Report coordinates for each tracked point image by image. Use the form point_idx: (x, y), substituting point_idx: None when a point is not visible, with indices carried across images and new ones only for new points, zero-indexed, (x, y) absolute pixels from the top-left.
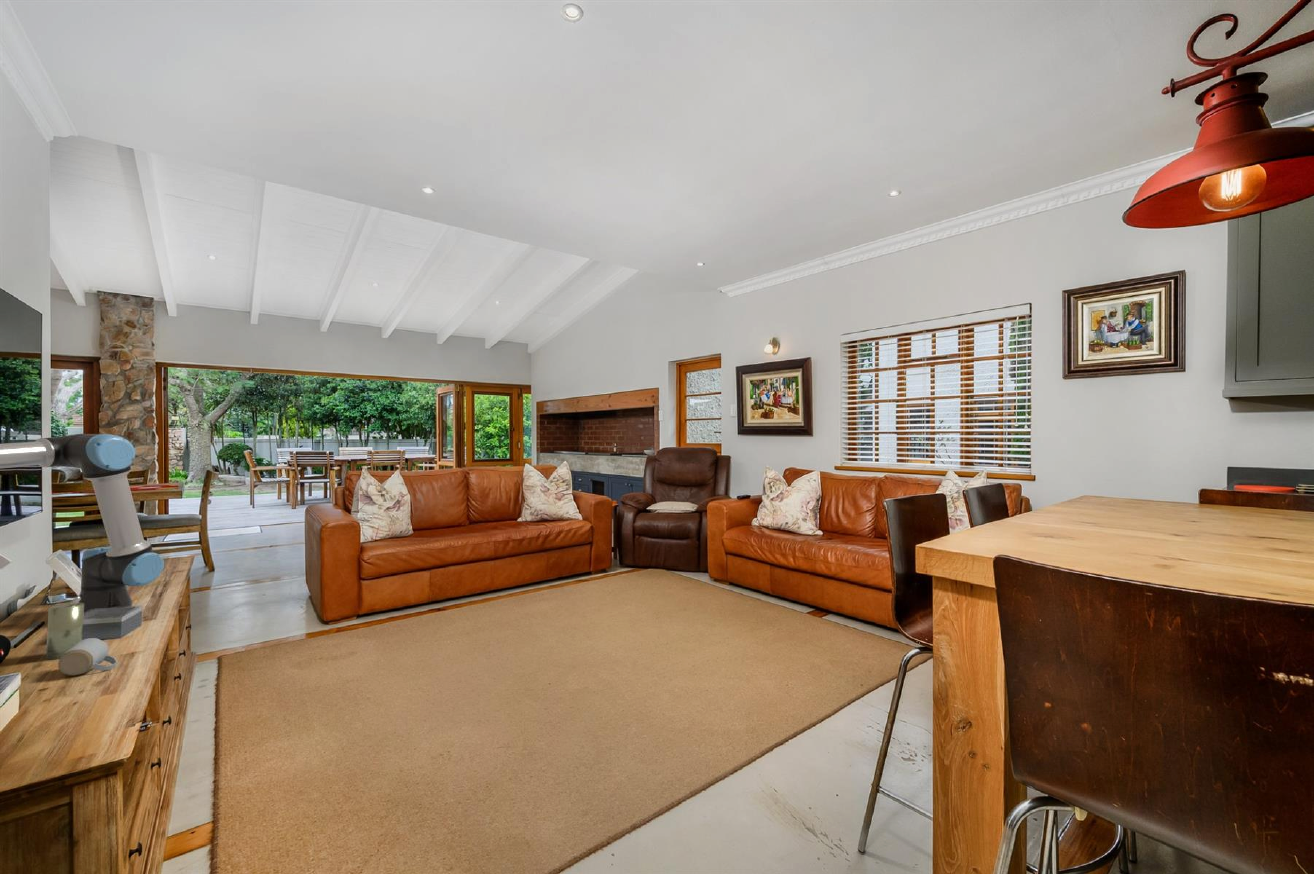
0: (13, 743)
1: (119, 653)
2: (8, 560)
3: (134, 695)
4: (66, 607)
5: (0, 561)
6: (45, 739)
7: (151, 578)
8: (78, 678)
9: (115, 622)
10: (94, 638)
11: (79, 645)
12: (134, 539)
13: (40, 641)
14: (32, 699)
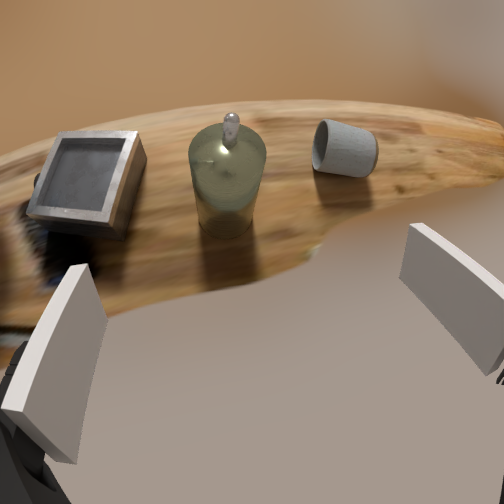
0: (498, 179)
1: None
2: (81, 275)
3: (424, 111)
4: (251, 146)
5: (85, 318)
6: (492, 161)
7: None
8: None
9: (137, 147)
10: (330, 124)
11: (362, 138)
12: None
13: None
14: (428, 191)
